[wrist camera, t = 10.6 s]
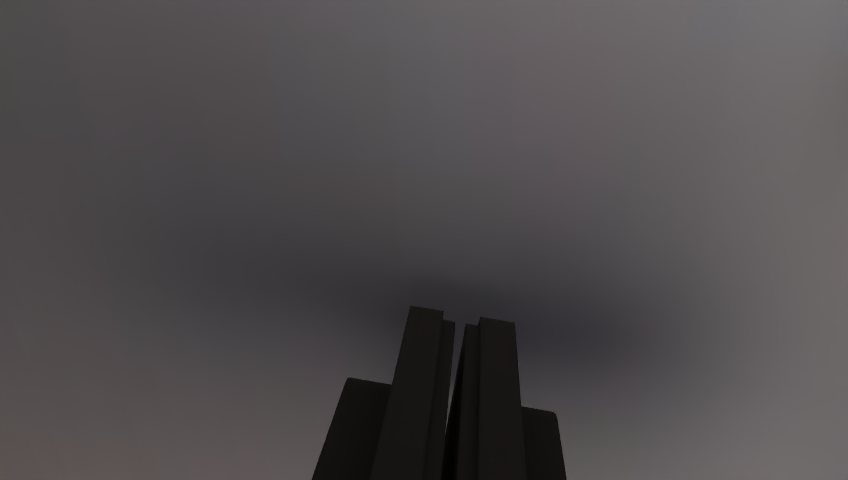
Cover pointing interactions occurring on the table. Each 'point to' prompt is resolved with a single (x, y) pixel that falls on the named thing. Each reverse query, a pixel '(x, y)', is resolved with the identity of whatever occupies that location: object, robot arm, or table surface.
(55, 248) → the table surface
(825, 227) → the table surface
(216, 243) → the table surface
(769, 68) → the table surface
